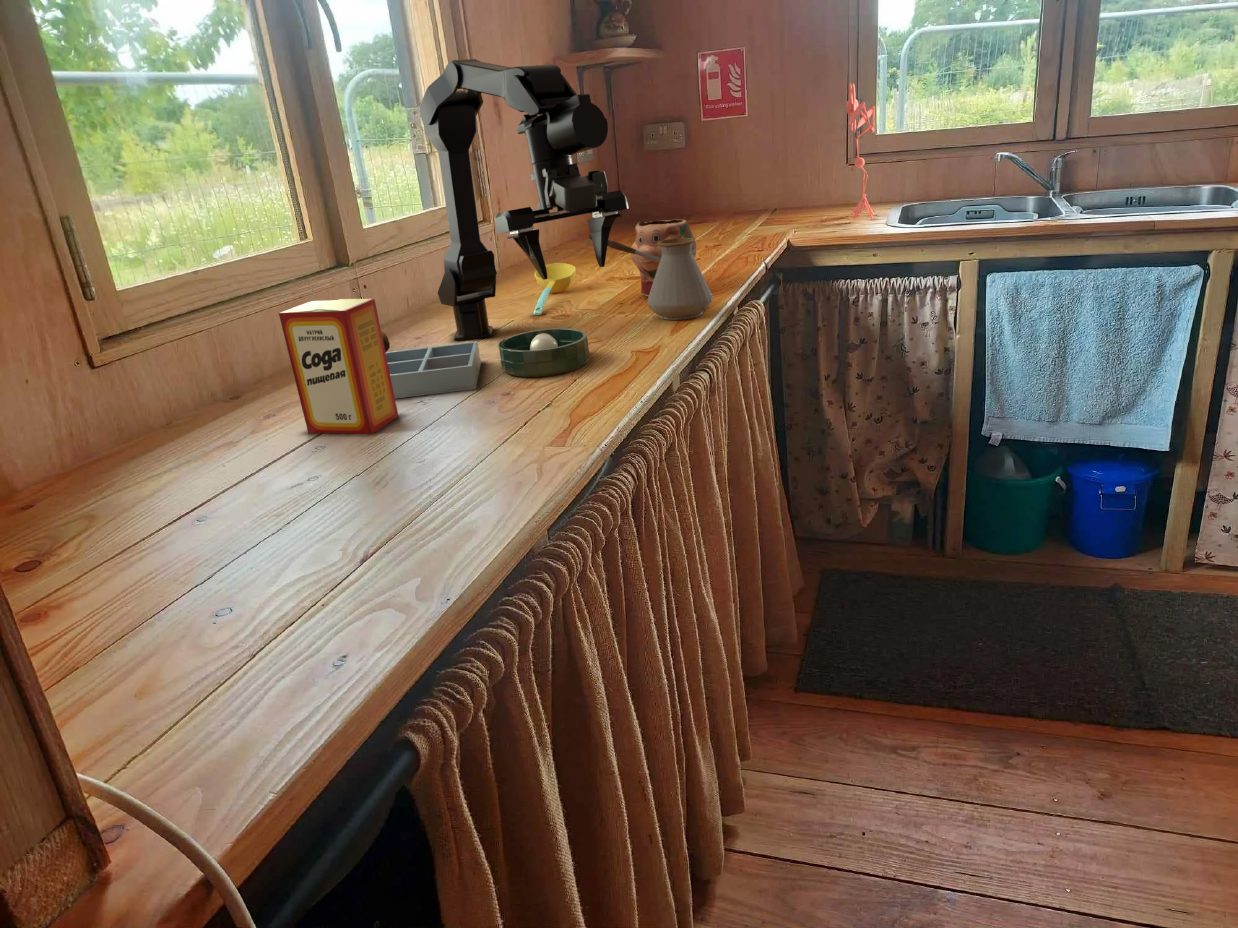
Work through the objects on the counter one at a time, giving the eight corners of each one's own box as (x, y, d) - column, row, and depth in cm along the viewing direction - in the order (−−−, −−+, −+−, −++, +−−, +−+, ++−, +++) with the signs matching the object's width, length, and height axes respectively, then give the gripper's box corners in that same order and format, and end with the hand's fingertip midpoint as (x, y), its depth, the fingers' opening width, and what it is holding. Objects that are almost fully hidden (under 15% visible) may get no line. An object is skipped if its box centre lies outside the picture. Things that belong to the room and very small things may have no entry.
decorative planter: (653, 282, 185) (647, 215, 179) (709, 280, 181) (705, 211, 175) (623, 304, 167) (616, 229, 162) (685, 302, 163) (680, 226, 158)
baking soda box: (308, 432, 112) (277, 310, 106) (337, 415, 118) (310, 298, 112) (371, 433, 109) (344, 307, 103) (398, 416, 115) (373, 295, 109)
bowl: (504, 359, 137) (500, 334, 136) (587, 349, 138) (584, 324, 136) (501, 382, 125) (497, 355, 124) (592, 371, 126) (589, 344, 124)
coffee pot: (715, 305, 158) (710, 220, 152) (711, 320, 148) (706, 230, 142) (600, 313, 162) (591, 230, 156) (588, 328, 151) (578, 240, 146)
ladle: (580, 281, 189) (578, 256, 186) (562, 338, 167) (559, 311, 164) (540, 283, 190) (537, 258, 187) (517, 339, 169) (513, 312, 165)
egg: (532, 359, 134) (528, 332, 132) (559, 355, 134) (555, 329, 132) (532, 368, 129) (528, 340, 127) (560, 365, 129) (556, 337, 127)
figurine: (876, 211, 254) (878, 80, 240) (876, 224, 231) (878, 80, 218) (822, 214, 258) (821, 86, 245) (817, 227, 235) (815, 86, 222)
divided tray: (387, 373, 136) (383, 352, 135) (481, 362, 137) (477, 341, 136) (371, 401, 123) (366, 378, 121) (475, 389, 123) (471, 365, 122)
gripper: (509, 163, 111) (535, 285, 116) (636, 142, 119) (656, 258, 123) (482, 174, 121) (507, 286, 125) (601, 155, 129) (620, 261, 133)
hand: (574, 273), depth 126 cm, fingers open, 9 cm apart
